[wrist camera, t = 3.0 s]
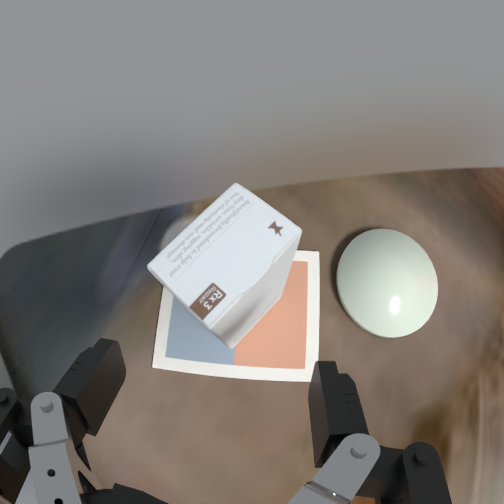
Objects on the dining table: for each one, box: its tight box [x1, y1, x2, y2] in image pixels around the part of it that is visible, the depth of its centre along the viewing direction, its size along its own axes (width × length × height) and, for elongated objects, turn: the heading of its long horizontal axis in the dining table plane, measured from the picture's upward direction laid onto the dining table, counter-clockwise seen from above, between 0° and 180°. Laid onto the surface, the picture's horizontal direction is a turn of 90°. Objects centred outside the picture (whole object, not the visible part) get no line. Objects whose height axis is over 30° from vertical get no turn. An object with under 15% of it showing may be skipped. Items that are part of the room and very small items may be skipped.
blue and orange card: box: [152, 250, 319, 382], centre depth 24 cm, size 13×11×1 cm
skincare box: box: [147, 183, 302, 349], centre depth 18 cm, size 6×4×12 cm
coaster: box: [336, 229, 438, 338], centre depth 24 cm, size 10×10×1 cm
